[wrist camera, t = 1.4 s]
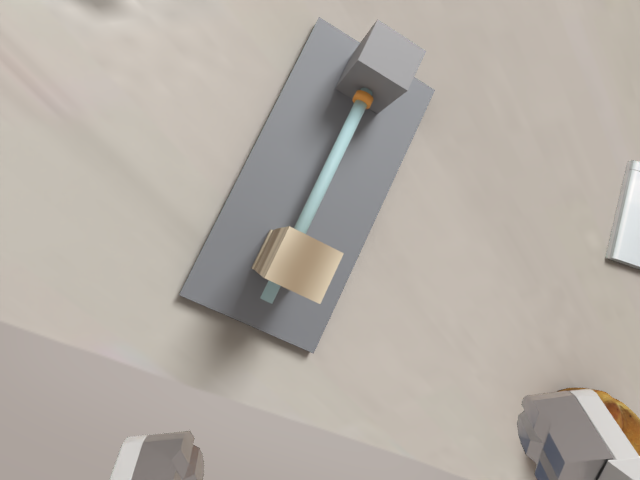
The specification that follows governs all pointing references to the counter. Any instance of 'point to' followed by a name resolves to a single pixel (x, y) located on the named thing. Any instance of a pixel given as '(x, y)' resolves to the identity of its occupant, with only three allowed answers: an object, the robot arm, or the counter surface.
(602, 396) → the bread roll
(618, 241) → the hard drive
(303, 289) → the notched wooden block
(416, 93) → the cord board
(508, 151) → the counter surface
